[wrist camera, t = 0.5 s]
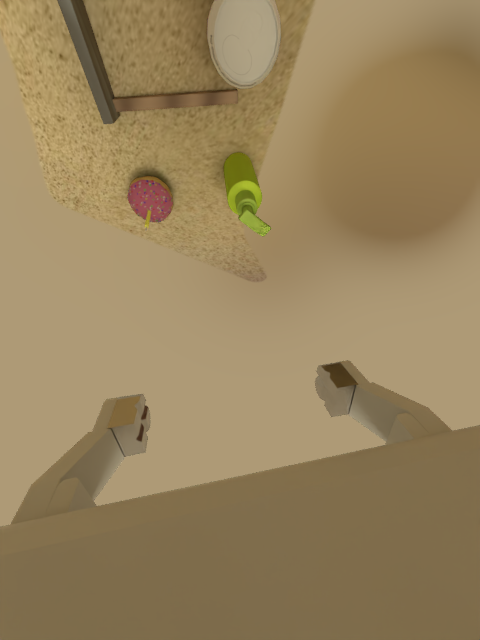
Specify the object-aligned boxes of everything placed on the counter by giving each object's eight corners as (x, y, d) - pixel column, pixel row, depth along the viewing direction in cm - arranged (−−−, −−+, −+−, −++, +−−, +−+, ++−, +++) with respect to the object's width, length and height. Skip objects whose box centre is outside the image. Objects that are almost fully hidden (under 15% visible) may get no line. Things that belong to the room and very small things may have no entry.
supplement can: (239, 87, 41) (250, 108, 31) (195, 39, 36) (193, 48, 27) (274, 27, 36) (299, 31, 27) (229, -35, 32) (240, -57, 22)
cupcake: (174, 212, 56) (170, 243, 48) (134, 206, 54) (123, 237, 46) (174, 171, 49) (169, 199, 42) (129, 163, 47) (115, 191, 40)
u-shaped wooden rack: (231, -72, 30) (234, -82, 26) (237, 107, 42) (240, 114, 39) (49, -63, 29) (30, -72, 26) (111, 116, 42) (103, 124, 39)
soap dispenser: (243, 193, 54) (255, 247, 41) (217, 171, 50) (222, 223, 38) (261, 169, 51) (281, 220, 38) (236, 145, 47) (248, 192, 34)
